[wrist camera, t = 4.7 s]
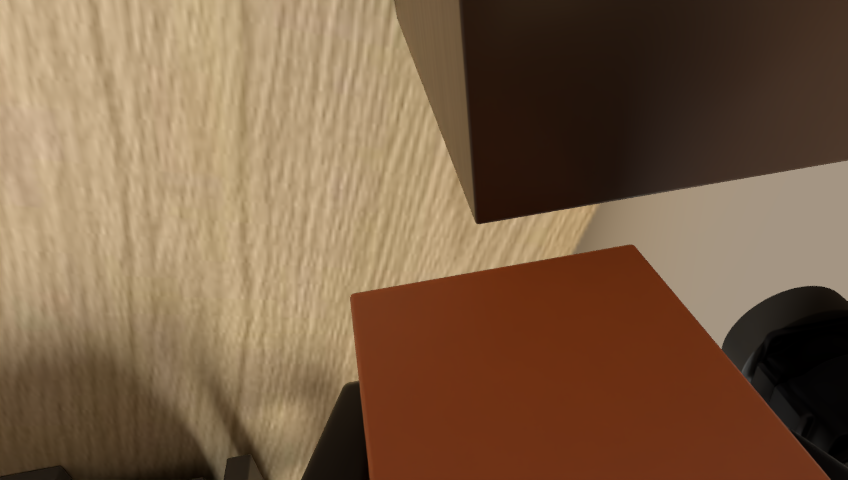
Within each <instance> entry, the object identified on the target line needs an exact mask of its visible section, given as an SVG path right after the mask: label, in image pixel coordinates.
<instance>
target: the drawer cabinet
mask: <svg viewBox="0 0 848 480" xmlns="http://www.w3.org/2000/svg"><path fill="white" fill-rule="evenodd" d="M0 480H72V479H71V478H70V476H69V475H68V474H67V473H66V472H65V470H64V469H63V468H62V467H61V466H58V467H52V468H47V469H42V470H36V471H31V472H25V473H20V474H15V475H9V476H4V477H0Z"/></svg>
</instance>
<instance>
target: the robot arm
mask: <svg viewBox="0 0 848 480" xmlns="http://www.w3.org/2000/svg"><path fill="white" fill-rule="evenodd" d="M750 384H751V385H752V386H753V388H754V389H755V390H756V391H757V392H758V394H759V395H760V396H761V397H762V398H763V399H764V401H765V402H766V403H767V404H768V405H769V407H770V408H771V409H772V410H773V411H774V413H775V414H776V415H777V416H778V417H779V419H780V420H781V421H782V422H783V423H784V424H785V426H786V427H787V428H788V429H789V430H790V432H791V433H792V434H793V435H794V436H795V438H796V439H797V440H798V441H799V442H800V444H801V445H802V446H803V447H804V448H805V449H806V451H807V452H808V453H809V454H810V455H811V457H812V458H813V459H814V460H815V461H816V463H817V464H818V465H819V466H820V467H821V468H822V470H823V471H824V472H825V473H826V474H827V476H828V477H829V478H830V479H831V480H848V316H847V317H842V318H837V319H831V320H826V321H821V322H815V323H810V324H804V325H799V326H794V327H788V328H783V329H777V330H773V331H771V332H769V333H768V334H767V335H766V337H765V339H764V342H763V345H762V348H761V351H760V354H759V358H758V361H757V364H756V367H755V370H754V373H753V376H752V379H751V382H750ZM301 480H370V478H369V468H368V459H367V450H366V441H365V432H364V422H363V413H362V404H361V395H360V386H359V381H355V382H349V383H347V384H345V385H344V387H343V388H342V391H341V393H340V395H339V397H338V399H337V402H336V404H335V406H334V408H333V410H332V413H331V415H330V417H329V419H328V421H327V424H326V426H325V428H324V430H323V433H322V435H321V437H320V439H319V441H318V444H317V446H316V448H315V450H314V452H313V455H312V457H311V459H310V461H309V463H308V466H307V468H306V470H305V472H304V475H303V477H302V479H301Z"/></svg>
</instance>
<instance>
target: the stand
mask: <svg viewBox="0 0 848 480" xmlns="http://www.w3.org/2000/svg"><path fill="white" fill-rule="evenodd" d="M395 5H396V12H397V19H398V21H399V24H400V26H401V29H402V32H403V34H404V37H405V39H406V42H407V45H408V47H409V50H410V53H411V55H412V58H413V60H414V63H415V66H416V68H417V71H418V73H419V76H420V79H421V81H422V84H423V87H424V89H425V92H426V94H427V97H428V100H429V102H430V105H431V107H432V110H433V113H434V115H435V118H436V120H437V123H438V126H439V128H440V131H441V134H442V136H443V139H444V141H445V144H446V147H447V149H448V152H449V154H450V157H451V160H452V162H453V165H454V167H455V170H456V173H457V175H458V178H459V181H460V183H461V186H462V188H463V191H464V194H465V196H466V199H467V201H468V204H469V207H470V209H471V212H472V215H473V217H474V220H475V222H476V223H477V224H483V223H488V222H494V221H500V220H506V219H512V218H517V217H523V216H529V215H535V214H541V213H546V212H552V211H558V210H564V209H569V208H575V207H581V206H587V205H593V204H598V203H604V202H609V201H615V200H621V199H627V198H633V197H638V196H645V195H650V194H656V193H661V192H667V191H673V190H679V189H685V188H690V187H697V186H702V185H708V184H714V183H720V182H725V181H731V180H737V179H743V178H748V177H754V176H760V175H766V174H772V173H777V172H783V171H788V170H795V169H800V168H806V167H812V166H818V165H824V164H830V163H835V162H841V161H847V160H848V0H395Z"/></svg>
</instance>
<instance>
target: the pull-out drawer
mask: <svg viewBox="0 0 848 480" xmlns="http://www.w3.org/2000/svg"><path fill="white" fill-rule="evenodd" d="M191 480H205V479H204V478H203V477H202V478H196V479H191ZM224 480H263V478H262V476H261V474H260V472H259V470H258V468H257V466H256V464H255V462H254V460H253V458H252V456H251V454H249V455H243V456H238V457H233V458H228V459H227V463H226V469H225V475H224Z"/></svg>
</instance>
